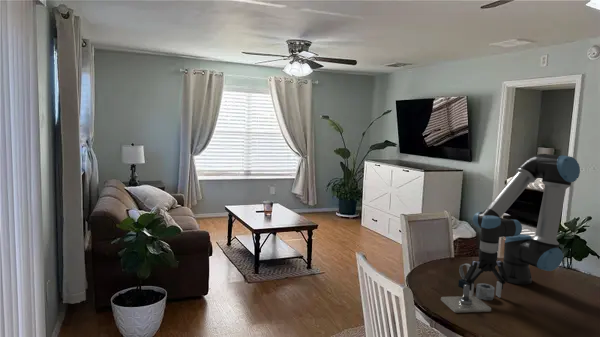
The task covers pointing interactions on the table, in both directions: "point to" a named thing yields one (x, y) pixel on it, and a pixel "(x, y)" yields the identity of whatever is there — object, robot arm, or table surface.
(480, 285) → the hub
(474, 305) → the block
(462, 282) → the watch
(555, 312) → the table surface
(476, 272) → the robot arm
